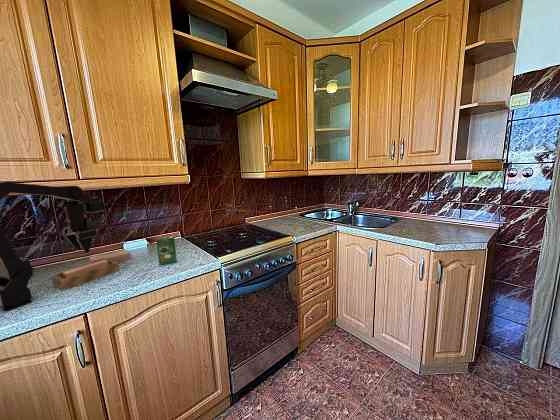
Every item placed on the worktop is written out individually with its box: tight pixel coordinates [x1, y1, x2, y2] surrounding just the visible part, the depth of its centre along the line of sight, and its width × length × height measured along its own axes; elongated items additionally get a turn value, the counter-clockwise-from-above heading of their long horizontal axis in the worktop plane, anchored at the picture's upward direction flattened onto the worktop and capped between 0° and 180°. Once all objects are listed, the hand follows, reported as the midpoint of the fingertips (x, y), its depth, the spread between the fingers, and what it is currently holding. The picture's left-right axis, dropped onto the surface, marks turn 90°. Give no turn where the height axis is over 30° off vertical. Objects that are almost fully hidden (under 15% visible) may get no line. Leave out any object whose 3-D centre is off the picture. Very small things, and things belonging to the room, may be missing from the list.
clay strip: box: [62, 260, 108, 279], centre depth 102 cm, size 15×4×4 cm, turn 149°
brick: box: [89, 249, 133, 264], centre depth 119 cm, size 17×8×5 cm, turn 134°
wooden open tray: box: [50, 259, 120, 291], centre depth 102 cm, size 20×11×4 cm, turn 149°
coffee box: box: [155, 235, 178, 266], centre depth 113 cm, size 8×3×13 cm, turn 108°
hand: (82, 251), depth 100 cm, fingers open, 9 cm apart
